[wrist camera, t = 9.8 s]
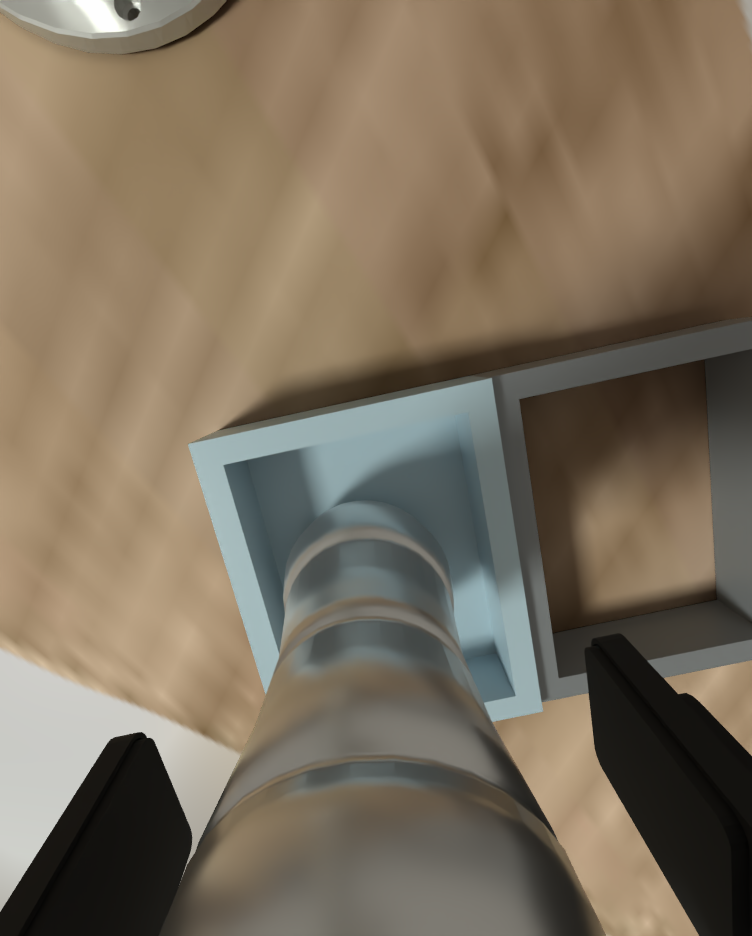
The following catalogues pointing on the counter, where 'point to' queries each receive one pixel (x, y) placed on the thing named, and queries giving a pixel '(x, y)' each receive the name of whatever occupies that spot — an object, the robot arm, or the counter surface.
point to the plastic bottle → (376, 768)
